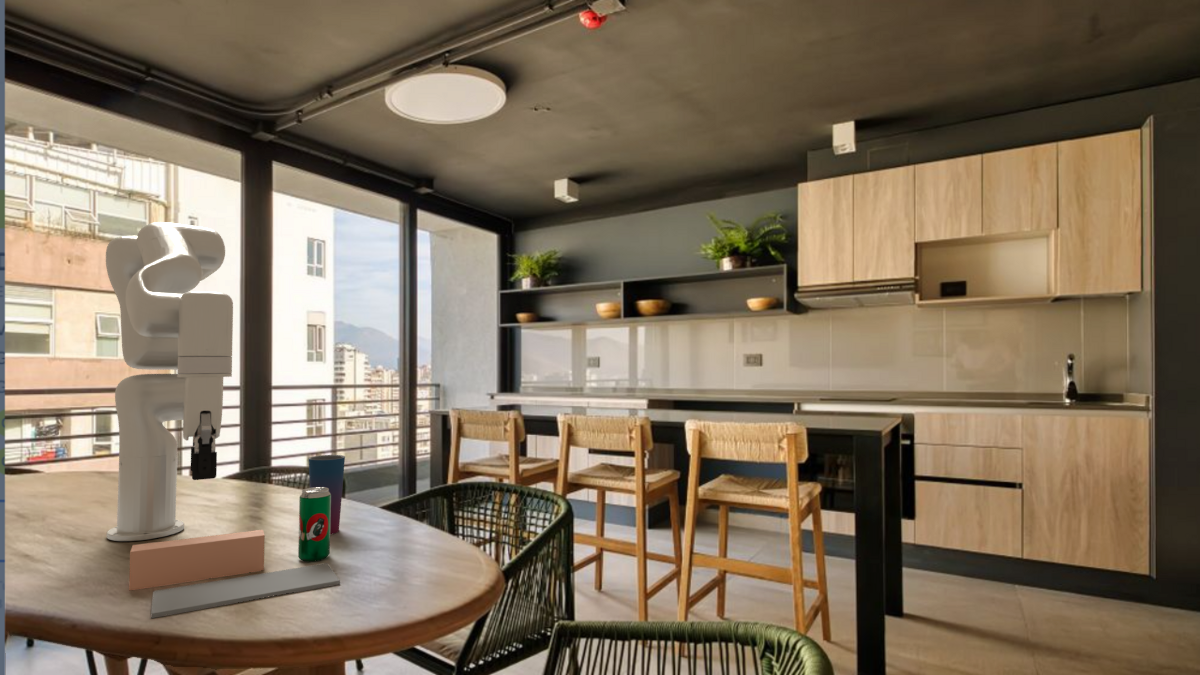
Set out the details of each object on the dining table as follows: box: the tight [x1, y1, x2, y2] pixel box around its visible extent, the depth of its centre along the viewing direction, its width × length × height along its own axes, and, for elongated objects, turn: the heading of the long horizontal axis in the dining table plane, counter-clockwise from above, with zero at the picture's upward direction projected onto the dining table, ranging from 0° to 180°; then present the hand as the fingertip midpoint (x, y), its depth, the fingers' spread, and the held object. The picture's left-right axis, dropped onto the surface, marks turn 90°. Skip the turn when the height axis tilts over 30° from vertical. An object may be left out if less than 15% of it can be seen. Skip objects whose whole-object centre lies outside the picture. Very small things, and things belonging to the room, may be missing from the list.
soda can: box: [297, 487, 331, 563], centre depth 112 cm, size 5×5×12 cm
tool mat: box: [150, 563, 341, 619], centre depth 97 cm, size 10×24×1 cm, turn 124°
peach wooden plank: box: [128, 529, 266, 591], centre depth 103 cm, size 4×18×6 cm, turn 122°
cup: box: [308, 454, 346, 535], centre depth 129 cm, size 7×7×15 cm
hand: (203, 474), depth 103 cm, fingers open, 9 cm apart
